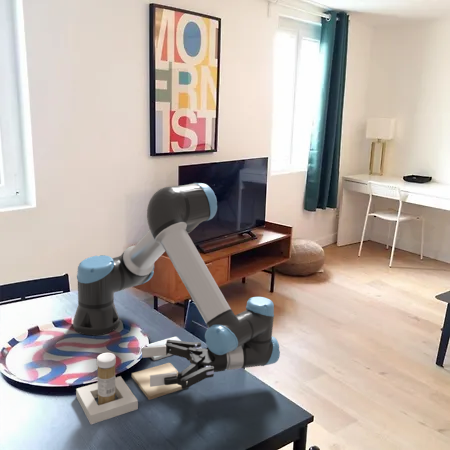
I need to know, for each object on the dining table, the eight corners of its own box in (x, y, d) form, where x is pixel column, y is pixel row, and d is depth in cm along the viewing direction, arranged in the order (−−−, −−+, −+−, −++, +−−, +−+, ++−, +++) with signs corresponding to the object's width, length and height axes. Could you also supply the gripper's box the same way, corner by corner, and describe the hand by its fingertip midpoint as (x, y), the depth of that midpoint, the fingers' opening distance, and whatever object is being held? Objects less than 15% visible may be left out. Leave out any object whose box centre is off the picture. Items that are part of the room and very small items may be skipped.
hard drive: (154, 357, 138) (189, 346, 146) (141, 345, 145) (175, 335, 152) (154, 362, 139) (188, 351, 146) (141, 350, 145) (175, 339, 152)
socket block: (76, 397, 120) (76, 388, 119) (120, 384, 126) (120, 376, 126) (90, 424, 110) (90, 415, 110) (137, 409, 117) (137, 400, 116)
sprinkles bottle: (113, 395, 121) (113, 350, 118) (117, 406, 117) (117, 359, 114) (95, 399, 119) (95, 353, 116) (99, 410, 115) (98, 363, 112)
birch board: (131, 376, 130) (131, 373, 130) (169, 365, 137) (169, 362, 136) (149, 399, 121) (149, 396, 120) (189, 386, 127) (189, 383, 127)
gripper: (238, 395, 115) (154, 408, 108) (210, 345, 138) (139, 354, 131) (240, 368, 113) (154, 380, 106) (211, 323, 136) (139, 330, 129)
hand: (145, 366), depth 119 cm, fingers open, 13 cm apart
